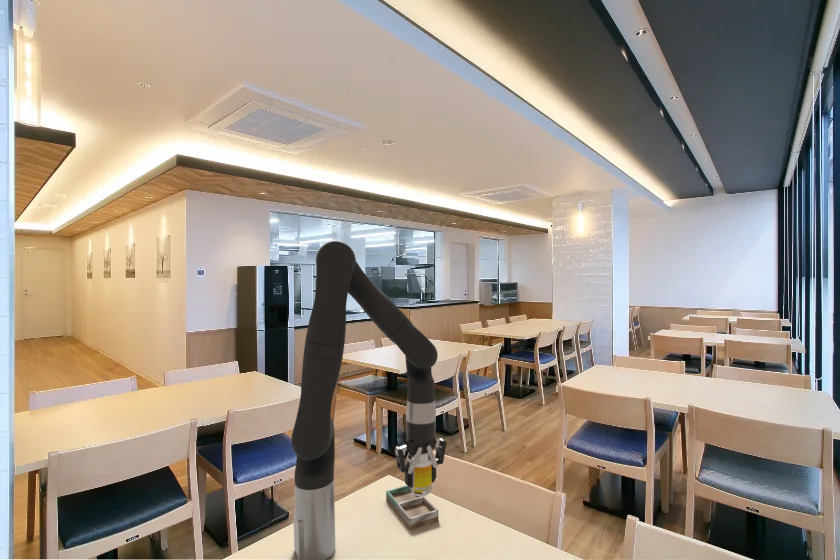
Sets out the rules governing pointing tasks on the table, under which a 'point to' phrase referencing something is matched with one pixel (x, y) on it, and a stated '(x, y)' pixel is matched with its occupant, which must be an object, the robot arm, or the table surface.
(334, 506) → the robot arm
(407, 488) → the divided sorting tray
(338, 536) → the table surface
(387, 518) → the table surface
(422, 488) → the supplement bottle
